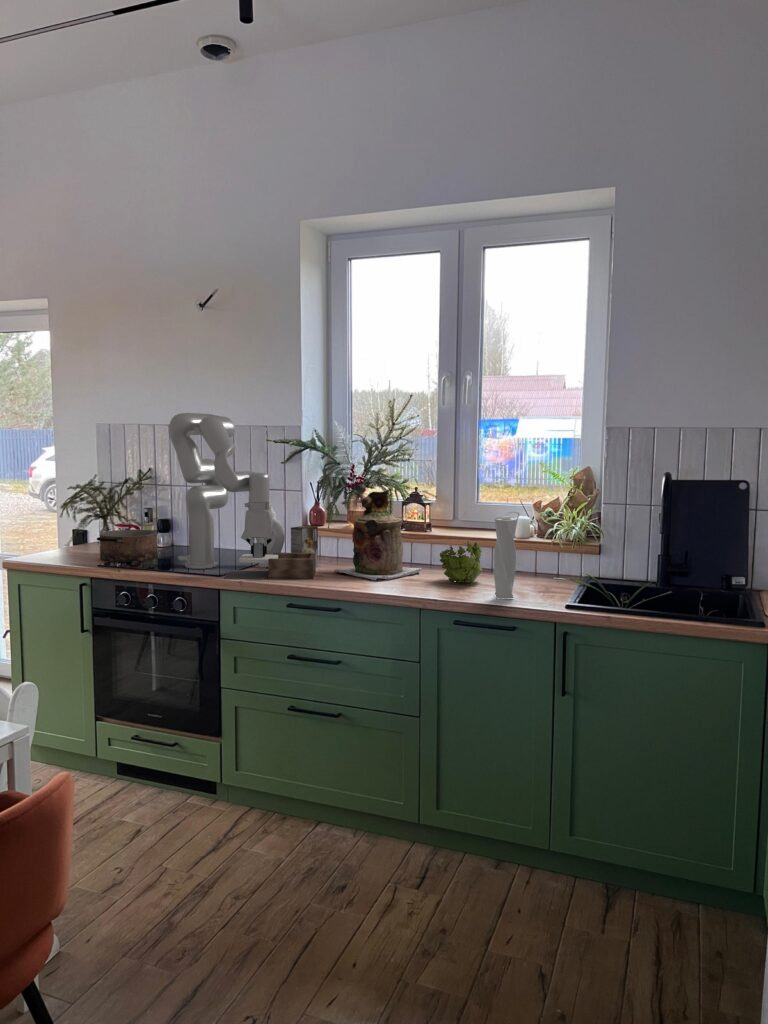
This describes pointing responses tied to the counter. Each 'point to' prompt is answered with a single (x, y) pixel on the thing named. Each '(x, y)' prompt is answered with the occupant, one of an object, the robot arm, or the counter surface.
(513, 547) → the white faceted vase
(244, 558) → the lid
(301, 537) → the coffee box
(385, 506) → the rustic painted jar
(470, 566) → the green rounded bumpy piece
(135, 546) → the cooking pot
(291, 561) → the box
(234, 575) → the mat
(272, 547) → the soap bottle
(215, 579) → the counter surface
